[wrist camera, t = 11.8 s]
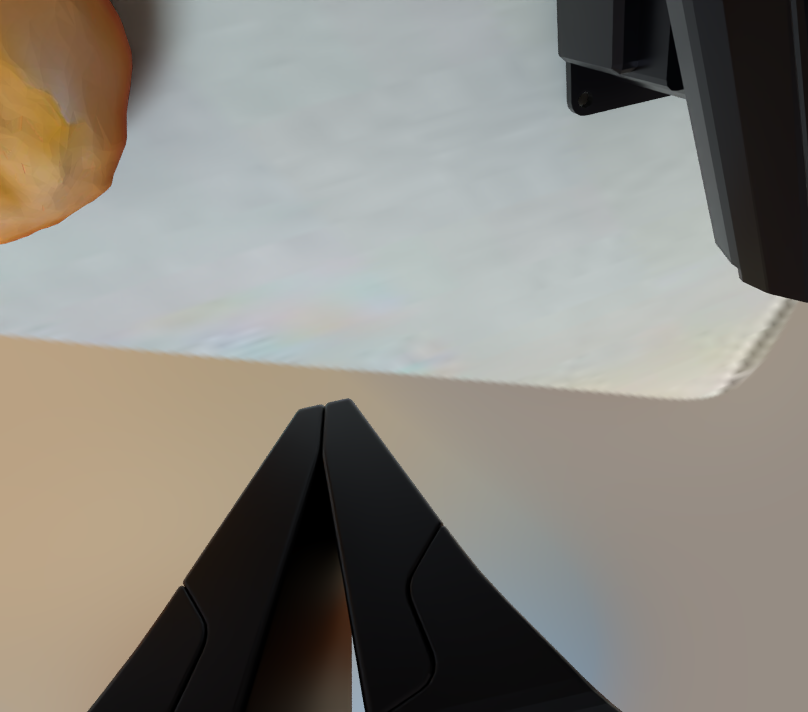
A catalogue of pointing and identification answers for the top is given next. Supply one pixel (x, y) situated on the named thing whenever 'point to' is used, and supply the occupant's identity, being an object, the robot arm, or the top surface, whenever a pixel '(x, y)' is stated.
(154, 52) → the top surface
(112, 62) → the fruit
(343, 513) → the robot arm
